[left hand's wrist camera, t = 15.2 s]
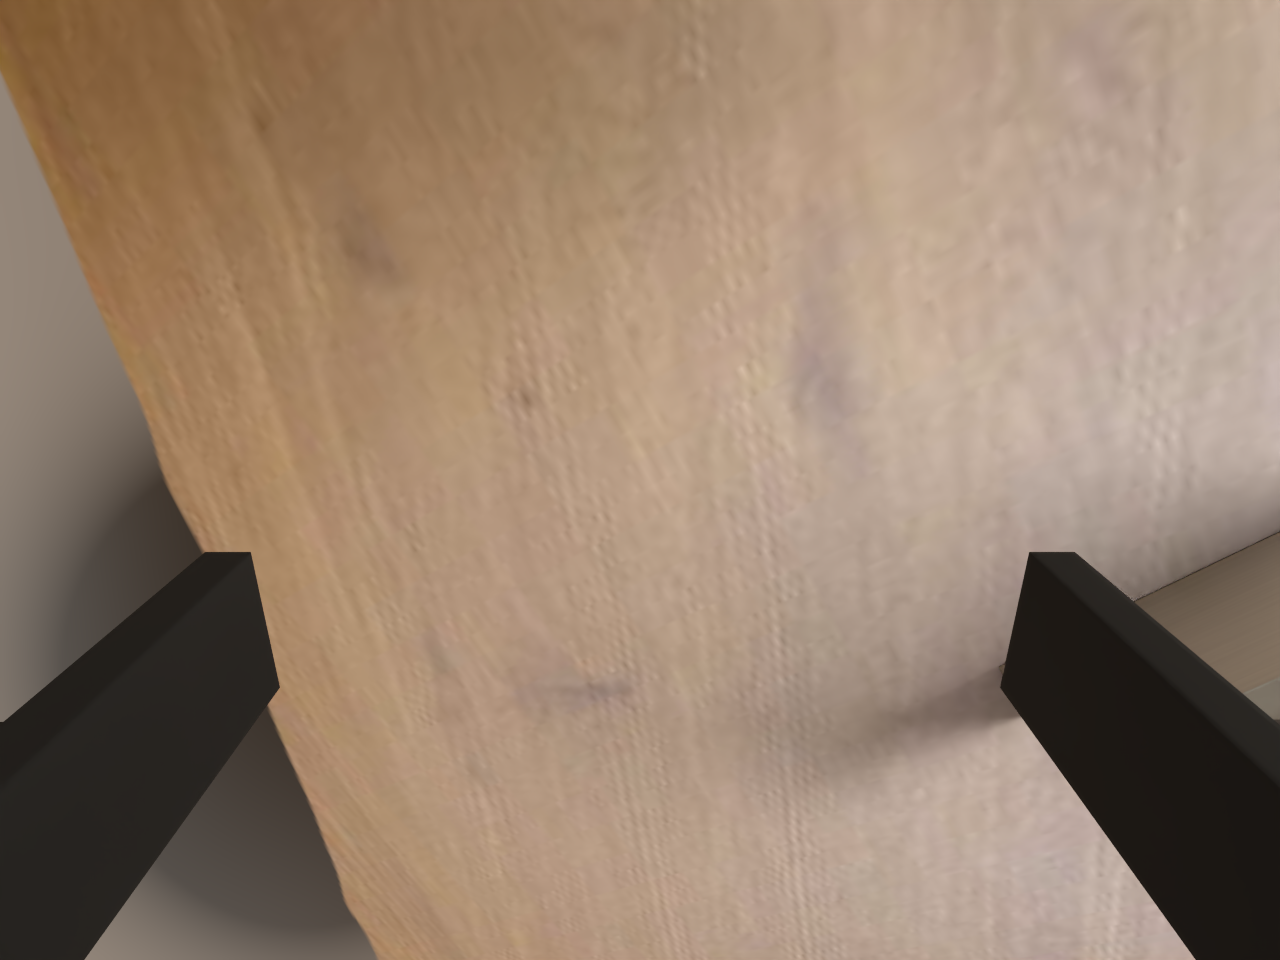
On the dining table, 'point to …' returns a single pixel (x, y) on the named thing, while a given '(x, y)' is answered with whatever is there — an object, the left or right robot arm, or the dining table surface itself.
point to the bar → (1230, 619)
